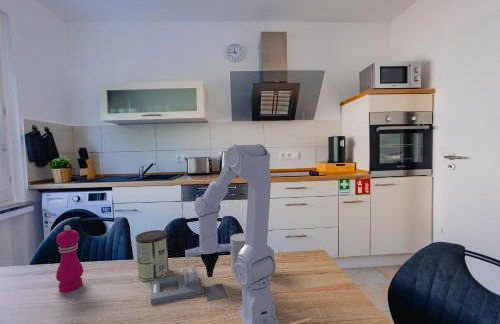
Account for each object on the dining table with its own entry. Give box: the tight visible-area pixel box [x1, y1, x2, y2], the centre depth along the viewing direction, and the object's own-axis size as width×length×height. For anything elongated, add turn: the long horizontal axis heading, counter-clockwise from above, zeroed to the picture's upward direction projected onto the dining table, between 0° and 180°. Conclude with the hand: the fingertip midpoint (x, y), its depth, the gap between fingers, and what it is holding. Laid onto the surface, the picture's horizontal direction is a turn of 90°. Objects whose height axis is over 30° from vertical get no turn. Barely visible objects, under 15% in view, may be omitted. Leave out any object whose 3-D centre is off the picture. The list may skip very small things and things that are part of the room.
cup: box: [229, 232, 246, 275], centre depth 91 cm, size 8×8×12 cm
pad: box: [203, 283, 229, 303], centre depth 77 cm, size 8×6×1 cm
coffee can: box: [134, 229, 170, 282], centre depth 90 cm, size 10×10×14 cm
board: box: [150, 274, 202, 305], centre depth 79 cm, size 11×14×2 cm
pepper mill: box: [55, 225, 84, 292], centre depth 83 cm, size 7×7×20 cm
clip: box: [183, 266, 199, 286], centre depth 80 cm, size 4×4×4 cm
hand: (209, 275), depth 83 cm, fingers closed
